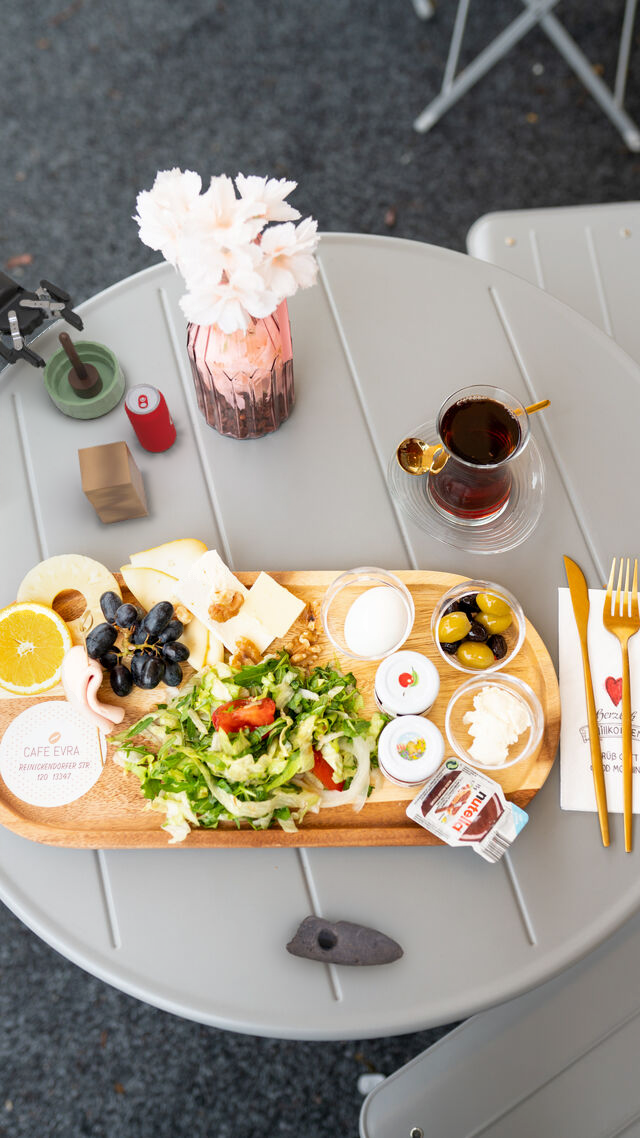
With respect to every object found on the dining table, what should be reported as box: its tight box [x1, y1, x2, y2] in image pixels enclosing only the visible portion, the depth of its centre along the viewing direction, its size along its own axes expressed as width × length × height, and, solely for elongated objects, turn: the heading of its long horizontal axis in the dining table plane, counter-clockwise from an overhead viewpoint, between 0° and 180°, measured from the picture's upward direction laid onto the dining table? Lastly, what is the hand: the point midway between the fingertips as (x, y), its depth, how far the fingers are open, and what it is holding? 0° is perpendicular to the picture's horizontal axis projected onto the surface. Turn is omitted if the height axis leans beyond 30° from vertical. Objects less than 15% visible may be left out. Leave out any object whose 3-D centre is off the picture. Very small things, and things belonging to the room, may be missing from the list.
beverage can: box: [124, 383, 177, 453], centre depth 129 cm, size 6×6×12 cm
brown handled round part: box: [57, 331, 103, 399], centre depth 130 cm, size 5×5×14 cm
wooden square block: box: [77, 440, 149, 525], centre depth 125 cm, size 7×7×12 cm
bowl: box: [42, 340, 126, 420], centre depth 135 cm, size 12×12×5 cm
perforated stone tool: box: [285, 915, 405, 967], centre depth 105 cm, size 15×5×7 cm, turn 79°
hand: (62, 345), depth 128 cm, fingers open, 8 cm apart
